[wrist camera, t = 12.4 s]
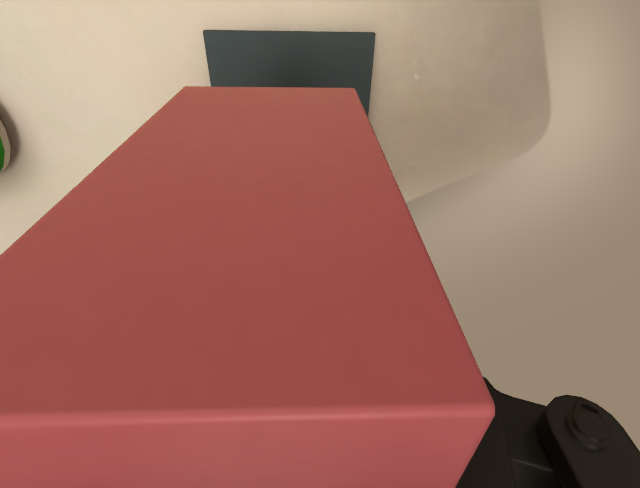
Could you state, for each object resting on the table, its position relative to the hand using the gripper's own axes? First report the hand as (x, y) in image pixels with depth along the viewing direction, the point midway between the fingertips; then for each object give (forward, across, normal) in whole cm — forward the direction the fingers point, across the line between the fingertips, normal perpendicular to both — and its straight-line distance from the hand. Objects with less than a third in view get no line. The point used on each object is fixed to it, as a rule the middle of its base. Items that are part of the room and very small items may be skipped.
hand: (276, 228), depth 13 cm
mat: (+14, 0, 0) cm, 14 cm away
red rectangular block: (+1, 0, 0) cm, 1 cm away
